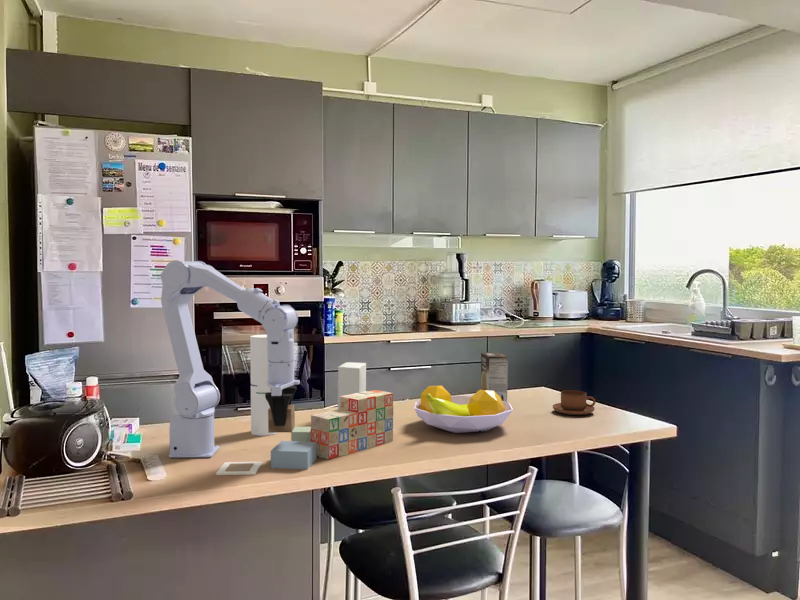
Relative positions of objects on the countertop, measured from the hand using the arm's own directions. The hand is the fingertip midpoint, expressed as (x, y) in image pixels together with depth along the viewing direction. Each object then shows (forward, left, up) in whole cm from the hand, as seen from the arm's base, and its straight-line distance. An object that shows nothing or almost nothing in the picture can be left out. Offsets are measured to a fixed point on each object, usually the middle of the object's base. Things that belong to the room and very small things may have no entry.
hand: (281, 422), depth 143 cm
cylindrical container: (-8, +26, -9) cm, 28 cm away
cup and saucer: (+79, +47, -9) cm, 92 cm away
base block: (+3, -1, -9) cm, 9 cm away
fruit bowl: (+43, +30, -9) cm, 53 cm away
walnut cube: (0, 0, -2) cm, 2 cm away
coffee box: (+57, +57, -9) cm, 81 cm away
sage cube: (+4, +9, -9) cm, 13 cm away
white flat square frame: (-8, -5, -9) cm, 13 cm away
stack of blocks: (+15, +11, -9) cm, 21 cm away
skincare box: (+14, +40, -9) cm, 43 cm away
